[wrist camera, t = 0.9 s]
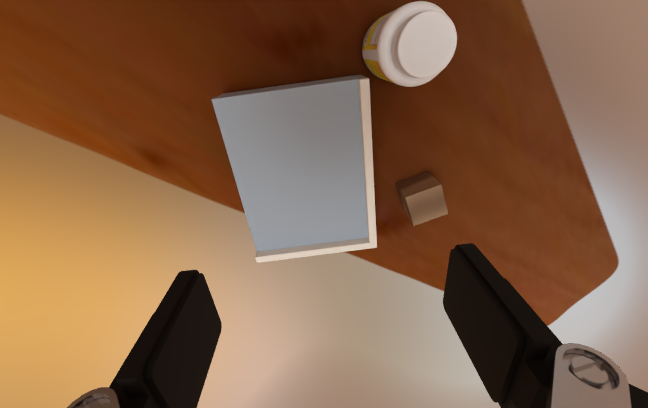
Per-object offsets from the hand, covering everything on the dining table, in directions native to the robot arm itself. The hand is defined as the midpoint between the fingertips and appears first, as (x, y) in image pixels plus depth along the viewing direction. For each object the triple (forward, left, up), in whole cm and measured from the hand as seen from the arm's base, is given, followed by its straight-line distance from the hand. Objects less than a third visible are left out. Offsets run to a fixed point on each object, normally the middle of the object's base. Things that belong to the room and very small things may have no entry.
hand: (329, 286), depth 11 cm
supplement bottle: (-7, +8, -24) cm, 26 cm away
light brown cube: (+9, +11, -23) cm, 27 cm away
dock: (+4, -2, -23) cm, 24 cm away
